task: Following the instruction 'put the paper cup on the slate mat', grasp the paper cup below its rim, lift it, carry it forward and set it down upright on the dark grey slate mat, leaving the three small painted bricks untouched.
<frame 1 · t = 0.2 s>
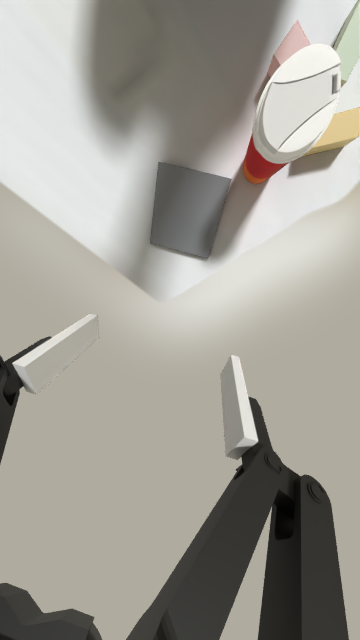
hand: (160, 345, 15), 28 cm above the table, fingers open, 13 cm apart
rose brick: (288, 81, 22), on the table
ochre brick: (324, 139, 24), on the table
slate mat: (186, 215, 32), on the table
paper cup: (259, 163, 27), on the table
sage brick: (338, 61, 21), on the table
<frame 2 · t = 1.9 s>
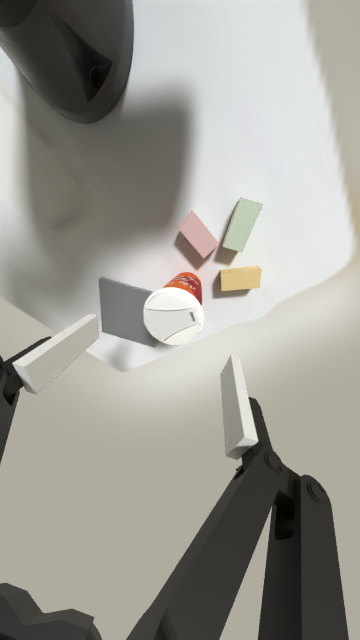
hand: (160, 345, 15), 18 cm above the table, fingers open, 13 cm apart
rose brick: (199, 235, 25), on the table
ochre brick: (237, 276, 27), on the table
slate mat: (131, 314, 35), on the table
paper cup: (186, 286, 30), on the table
sage brick: (238, 227, 24), on the table
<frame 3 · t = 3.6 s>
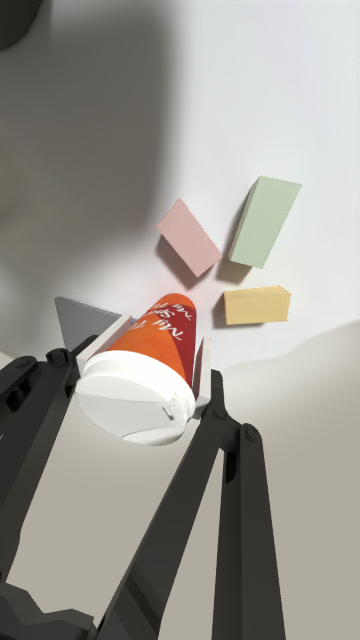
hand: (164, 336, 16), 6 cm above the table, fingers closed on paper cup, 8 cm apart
rose brick: (192, 240, 17), on the table
ochre brick: (249, 300, 19), on the table
slate mat: (103, 344, 26), on the table
paper cup: (176, 311, 21), on the table, touching gripper
sage brick: (252, 228, 15), on the table
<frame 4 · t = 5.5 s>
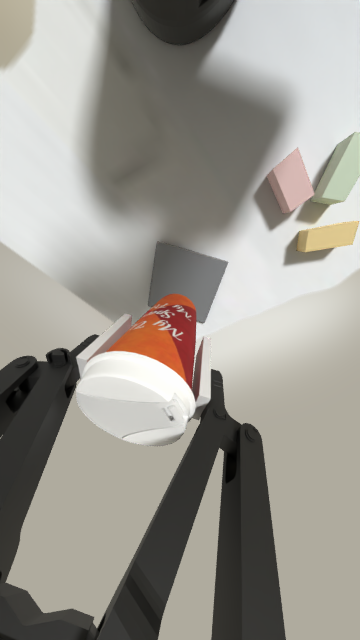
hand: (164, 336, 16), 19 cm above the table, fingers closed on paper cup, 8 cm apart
rose brick: (284, 187, 23), on the table
ochre brick: (318, 237, 25), on the table
slate mat: (183, 285, 33), on the table
paper cup: (176, 312, 21), point 13 cm above the table, touching gripper
sage brick: (333, 177, 22), on the table
when the fingers open (7 cm above the table, at t = 7.9 s): paper cup stays where it is, resting on slate mat.
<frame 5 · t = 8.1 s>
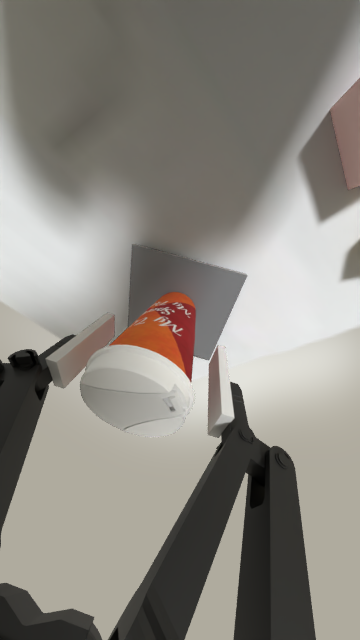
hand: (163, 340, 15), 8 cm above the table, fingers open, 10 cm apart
slate mat: (177, 308, 22), on the table
paper cup: (175, 310, 21), point 1 cm above the table, touching slate mat
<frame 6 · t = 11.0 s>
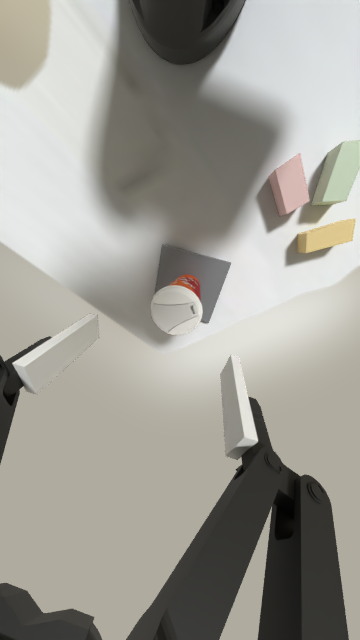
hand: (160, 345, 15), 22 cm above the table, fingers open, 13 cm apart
rose brick: (284, 191, 24), on the table
ochre brick: (317, 237, 26), on the table
slate mat: (188, 286, 34), on the table
paper cup: (187, 287, 33), point 1 cm above the table, touching slate mat
sage brick: (329, 180, 23), on the table
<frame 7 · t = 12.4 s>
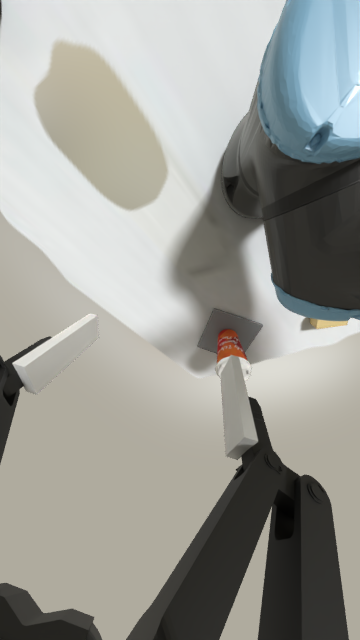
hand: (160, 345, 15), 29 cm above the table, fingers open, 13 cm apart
ochre brick: (324, 315, 39), on the table
slate mat: (227, 335, 46), on the table
paper cup: (227, 336, 45), point 1 cm above the table, touching slate mat
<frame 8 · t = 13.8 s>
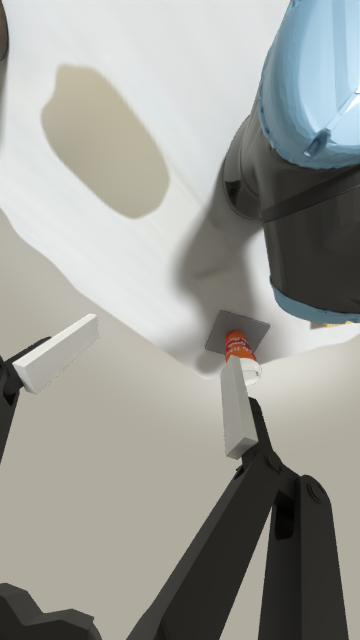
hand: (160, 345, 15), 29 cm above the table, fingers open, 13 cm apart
slate mat: (234, 336, 46), on the table
paper cup: (234, 337, 45), point 1 cm above the table, touching slate mat
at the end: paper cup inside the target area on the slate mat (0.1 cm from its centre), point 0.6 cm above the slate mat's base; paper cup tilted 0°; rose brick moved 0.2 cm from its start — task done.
